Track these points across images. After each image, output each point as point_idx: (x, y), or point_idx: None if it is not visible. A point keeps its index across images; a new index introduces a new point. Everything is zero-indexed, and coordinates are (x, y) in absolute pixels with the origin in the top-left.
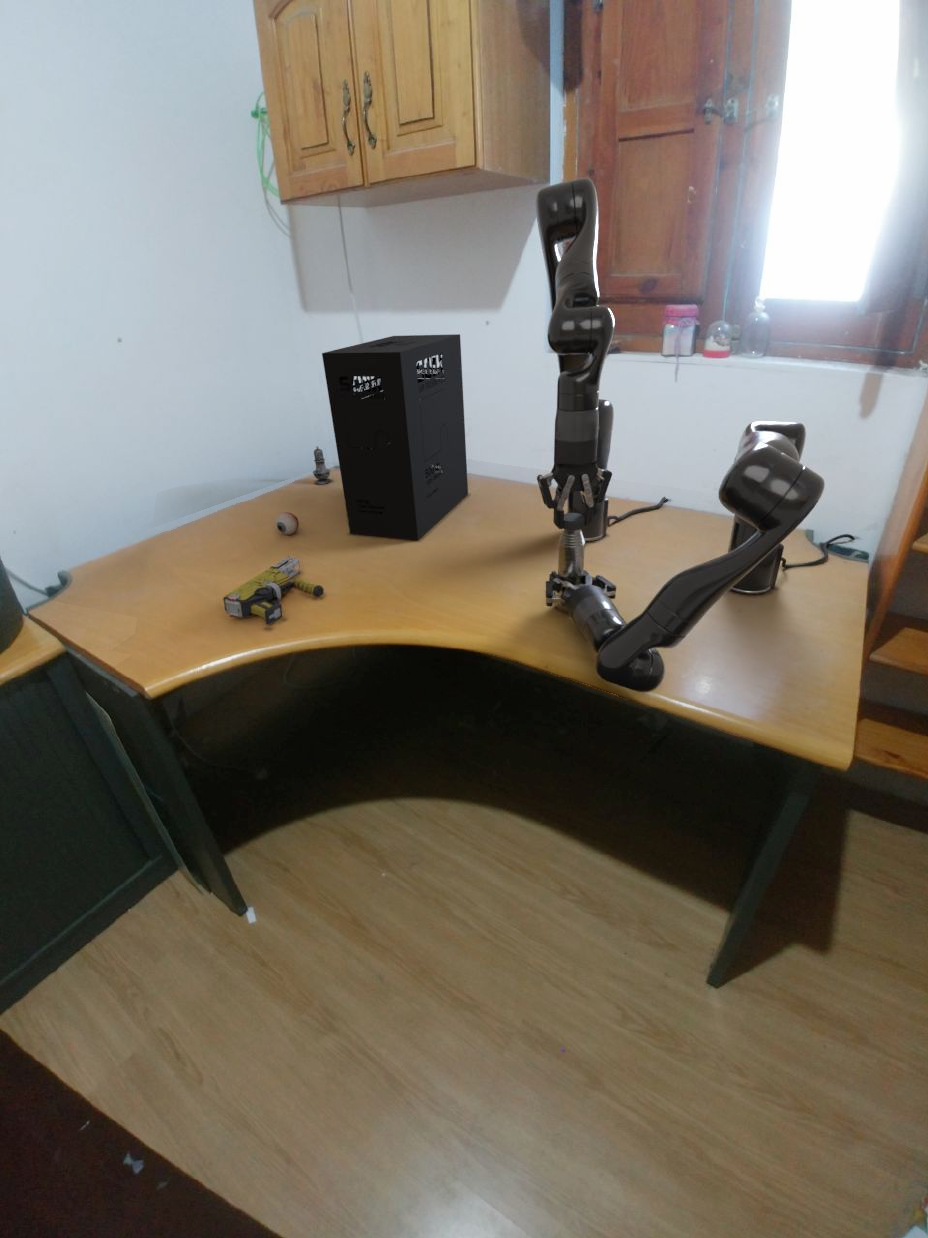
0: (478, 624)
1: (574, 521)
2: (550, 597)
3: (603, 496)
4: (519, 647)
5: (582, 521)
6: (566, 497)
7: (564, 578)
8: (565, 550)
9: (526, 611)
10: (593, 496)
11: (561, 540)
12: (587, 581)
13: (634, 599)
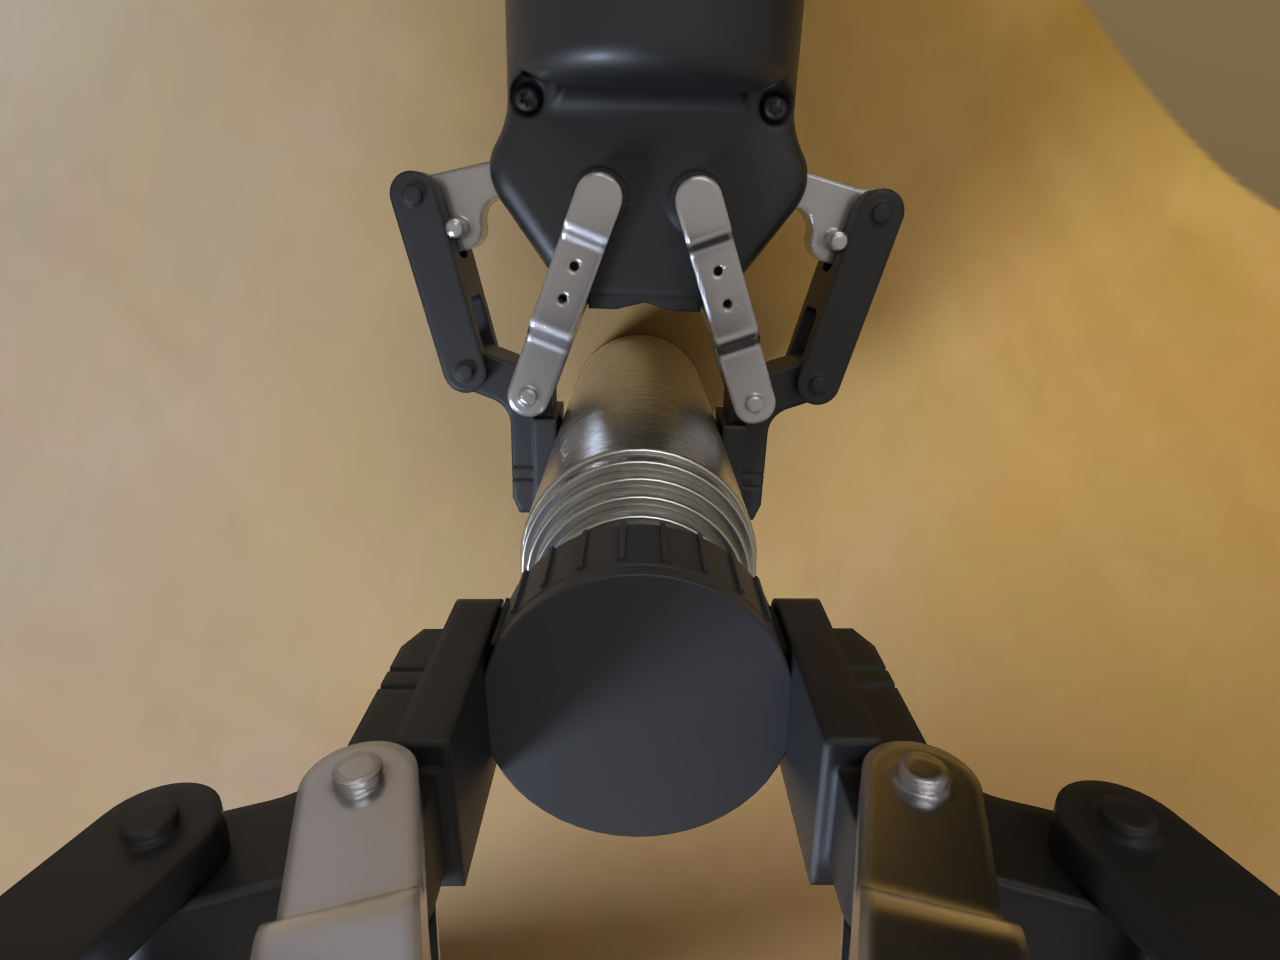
0: (1152, 340)
1: (673, 576)
2: (879, 188)
3: (48, 872)
4: (1056, 32)
5: (550, 588)
6: (888, 912)
7: (701, 402)
8: (724, 469)
9: (868, 404)
10: (247, 947)
11: (748, 562)
12: (575, 287)
13: (279, 374)
